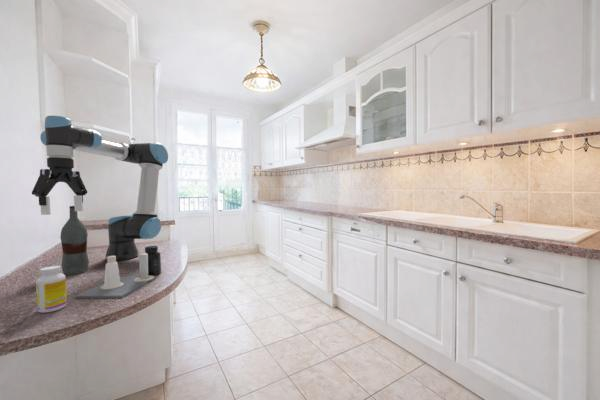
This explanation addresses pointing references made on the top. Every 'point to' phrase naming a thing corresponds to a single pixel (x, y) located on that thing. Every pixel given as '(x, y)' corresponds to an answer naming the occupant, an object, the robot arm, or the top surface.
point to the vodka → (74, 245)
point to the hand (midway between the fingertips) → (63, 212)
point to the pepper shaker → (111, 273)
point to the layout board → (122, 283)
